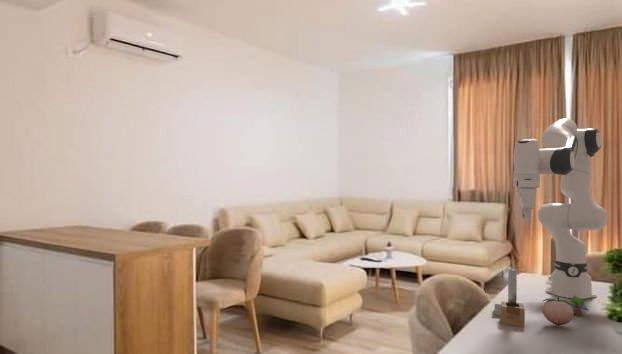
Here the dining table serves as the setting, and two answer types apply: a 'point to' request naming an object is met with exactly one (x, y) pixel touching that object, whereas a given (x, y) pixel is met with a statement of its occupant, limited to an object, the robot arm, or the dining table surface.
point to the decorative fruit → (558, 311)
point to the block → (498, 306)
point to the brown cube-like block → (513, 314)
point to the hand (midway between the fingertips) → (526, 220)
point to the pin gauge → (512, 287)
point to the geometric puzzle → (578, 305)
